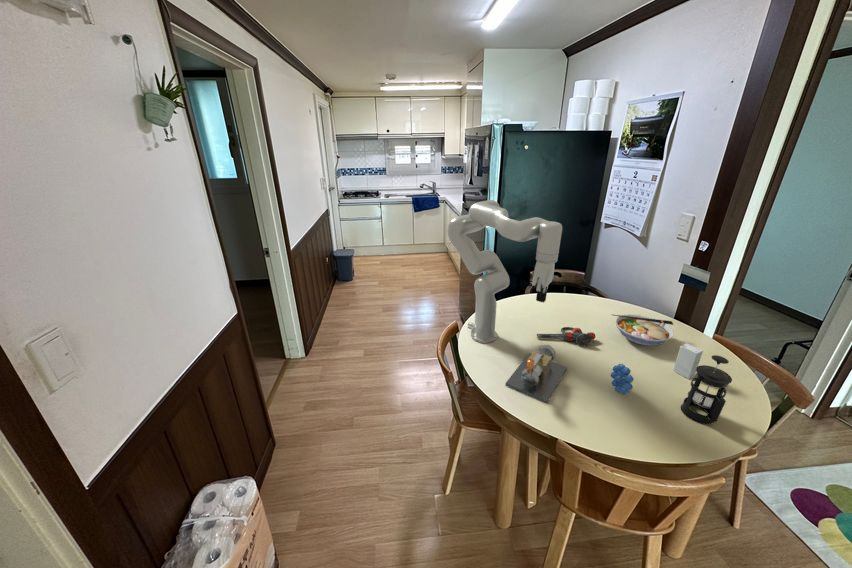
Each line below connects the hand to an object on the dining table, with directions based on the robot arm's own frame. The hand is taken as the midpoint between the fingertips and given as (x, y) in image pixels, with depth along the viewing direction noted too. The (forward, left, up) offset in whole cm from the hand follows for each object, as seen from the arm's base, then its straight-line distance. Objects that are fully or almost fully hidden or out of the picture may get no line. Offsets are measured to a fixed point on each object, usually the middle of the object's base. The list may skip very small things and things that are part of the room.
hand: (540, 300), depth 128 cm
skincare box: (+51, +28, -29) cm, 65 cm away
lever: (+5, -14, -19) cm, 24 cm away
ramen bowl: (+34, +45, -29) cm, 64 cm away
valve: (+5, +28, -30) cm, 41 cm away
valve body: (+5, -8, -29) cm, 31 cm away
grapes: (+33, +2, -29) cm, 44 cm away
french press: (+56, +5, -29) cm, 63 cm away
